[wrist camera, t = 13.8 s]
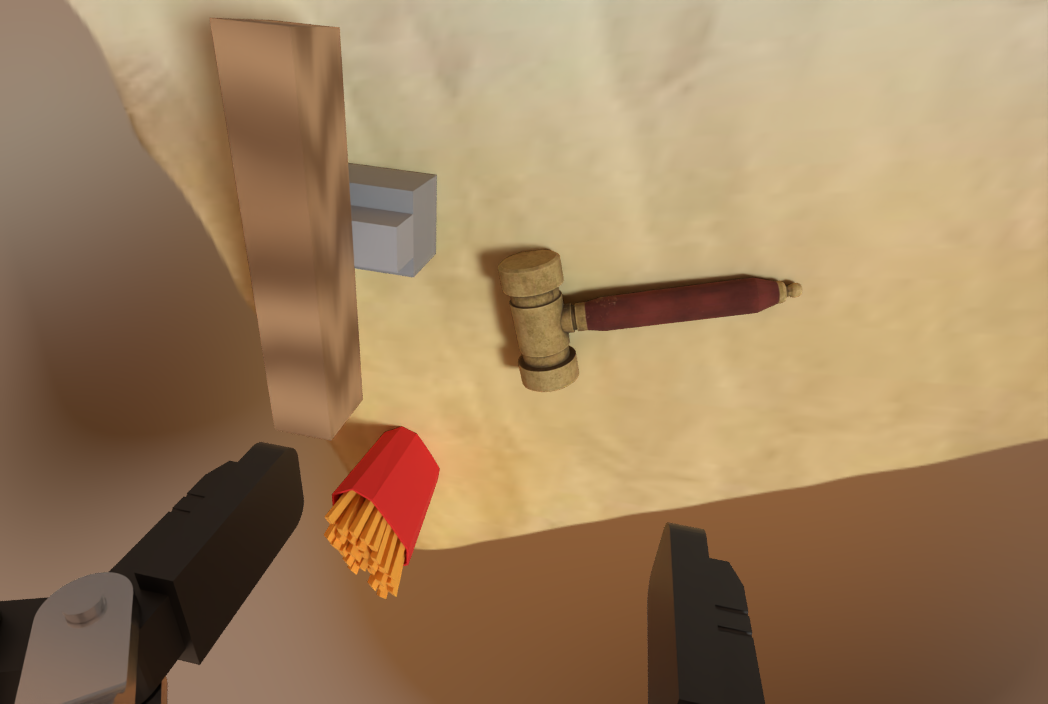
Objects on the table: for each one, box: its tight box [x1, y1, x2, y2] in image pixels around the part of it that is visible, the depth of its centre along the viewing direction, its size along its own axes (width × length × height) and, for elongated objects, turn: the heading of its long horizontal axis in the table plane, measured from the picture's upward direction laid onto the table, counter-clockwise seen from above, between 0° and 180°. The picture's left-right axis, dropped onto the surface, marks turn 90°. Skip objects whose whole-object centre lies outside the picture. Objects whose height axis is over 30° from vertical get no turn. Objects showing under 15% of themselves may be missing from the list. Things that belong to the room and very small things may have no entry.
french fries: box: [324, 427, 440, 599], centre depth 50 cm, size 9×4×13 cm, turn 26°
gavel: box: [498, 250, 802, 392], centre depth 42 cm, size 21×5×10 cm
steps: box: [348, 163, 437, 277], centre depth 40 cm, size 6×10×8 cm, turn 85°
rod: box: [210, 18, 363, 441], centre depth 35 cm, size 24×4×5 cm, turn 175°
